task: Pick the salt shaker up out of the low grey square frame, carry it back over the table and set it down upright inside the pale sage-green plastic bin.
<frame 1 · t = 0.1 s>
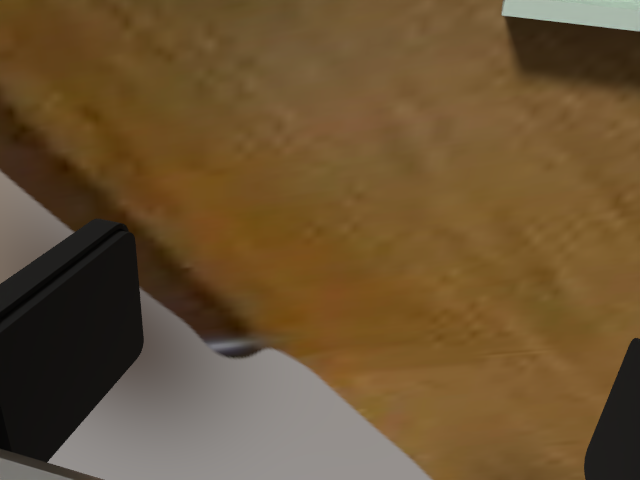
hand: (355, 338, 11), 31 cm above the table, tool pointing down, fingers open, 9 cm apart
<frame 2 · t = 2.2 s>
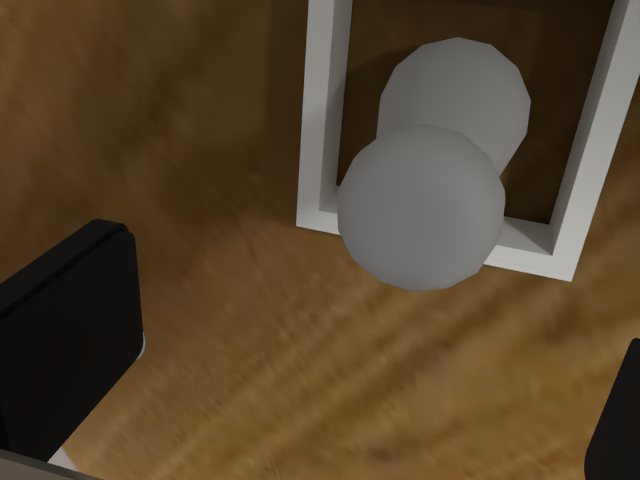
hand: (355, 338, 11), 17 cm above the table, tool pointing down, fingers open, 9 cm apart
salt shaker: (458, 98, 26), resting in grey square frame
grey square frame: (457, 99, 25), on the table
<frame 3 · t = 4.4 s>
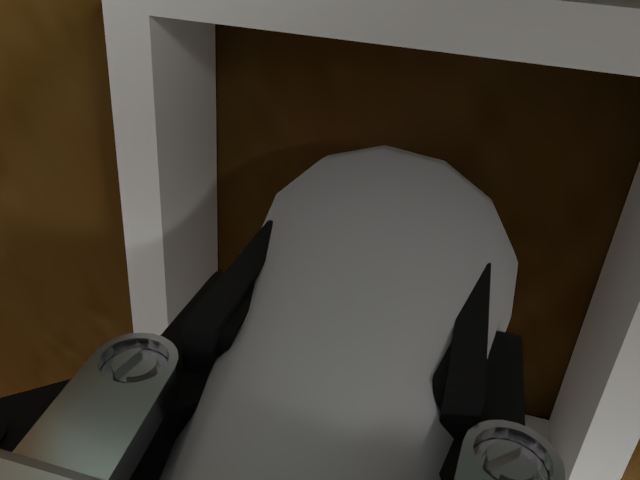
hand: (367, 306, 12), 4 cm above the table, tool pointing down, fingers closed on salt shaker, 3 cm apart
salt shaker: (398, 225, 15), resting in grey square frame, touching gripper
grey square frame: (396, 229, 15), on the table
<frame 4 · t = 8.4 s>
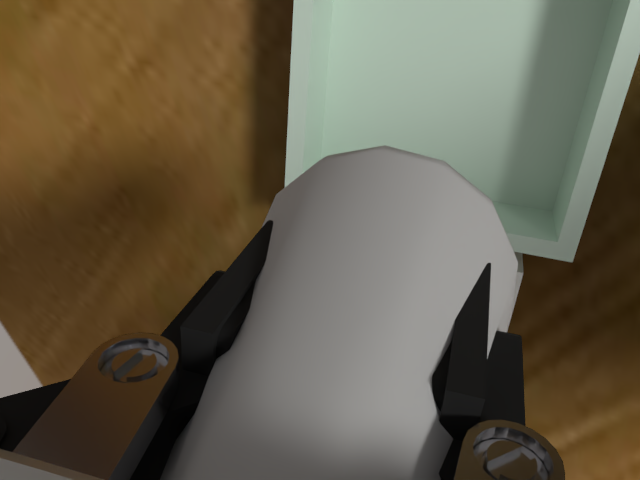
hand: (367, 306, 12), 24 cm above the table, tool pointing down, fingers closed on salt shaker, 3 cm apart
salt shaker: (398, 225, 15), point 20 cm above the table, touching gripper
green bin: (452, 71, 33), on the table
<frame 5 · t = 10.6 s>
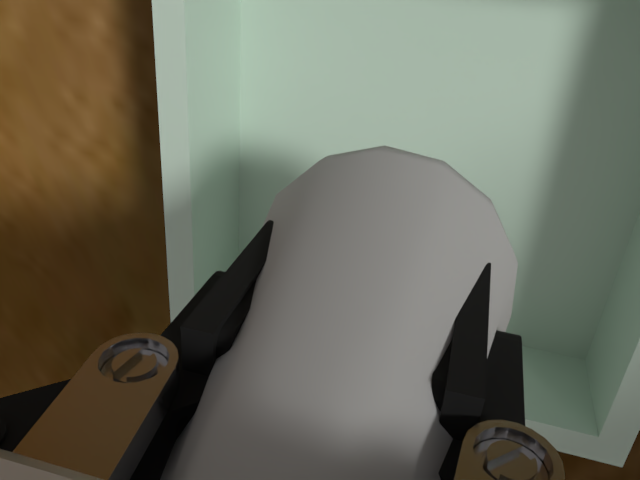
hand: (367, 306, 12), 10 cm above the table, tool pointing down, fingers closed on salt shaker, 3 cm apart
salt shaker: (398, 225, 15), point 6 cm above the table, touching gripper
green bin: (430, 148, 21), on the table
when the fingers open (5 cm above the table, at t = 12.4 s): salt shaker stays where it is, resting on green bin.
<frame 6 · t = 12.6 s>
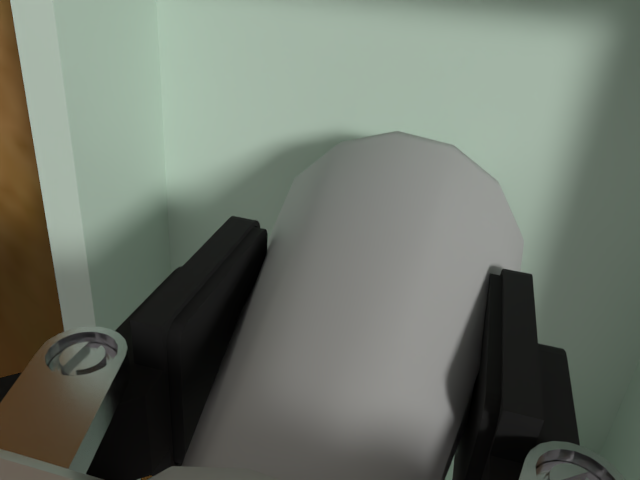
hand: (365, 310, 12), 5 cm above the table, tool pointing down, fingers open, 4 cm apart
salt shaker: (409, 210, 16), resting on green bin
green bin: (402, 206, 17), on the table
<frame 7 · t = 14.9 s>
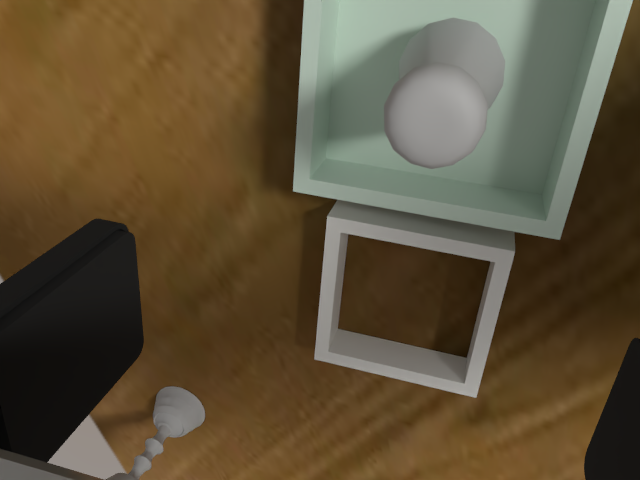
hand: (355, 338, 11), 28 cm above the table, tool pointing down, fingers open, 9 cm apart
salt shaker: (453, 64, 35), resting on green bin
chalice: (181, 406, 56), on the table
grey square frame: (410, 288, 43), on the table
green bin: (450, 64, 36), on the table
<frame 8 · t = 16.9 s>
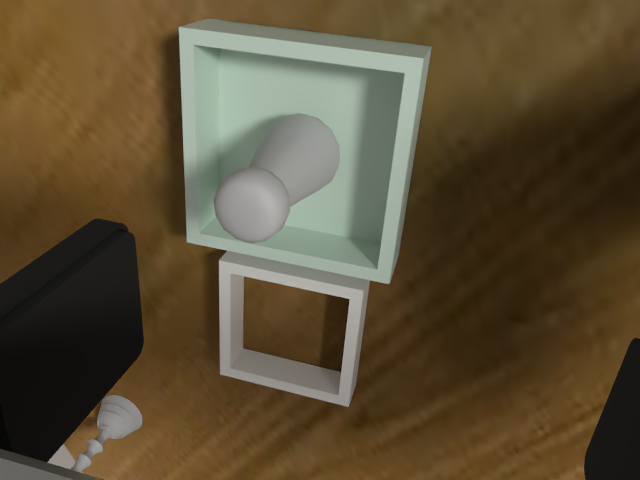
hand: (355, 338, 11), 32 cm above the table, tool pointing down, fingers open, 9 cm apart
salt shaker: (310, 143, 44), resting on green bin
chalice: (122, 412, 65), on the table
grey square frame: (296, 316, 52), on the table
green bin: (308, 142, 45), on the table
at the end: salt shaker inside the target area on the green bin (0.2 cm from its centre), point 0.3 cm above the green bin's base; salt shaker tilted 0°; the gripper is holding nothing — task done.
